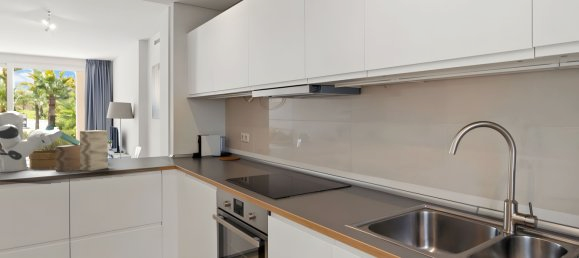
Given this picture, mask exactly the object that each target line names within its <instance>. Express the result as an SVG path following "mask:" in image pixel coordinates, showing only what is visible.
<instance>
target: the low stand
mask: <svg viewBox="0 0 579 258" xmlns="http://www.w3.org/2000/svg"><path fill="white" fill-rule="evenodd" d="M54 146H55V145H54ZM54 150H55V157H56V168H55V171H56V172H70V171H76V170H80V144H79V145H74V144H70V145H69V144H67V145H58V146H55V149H54Z"/></svg>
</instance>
